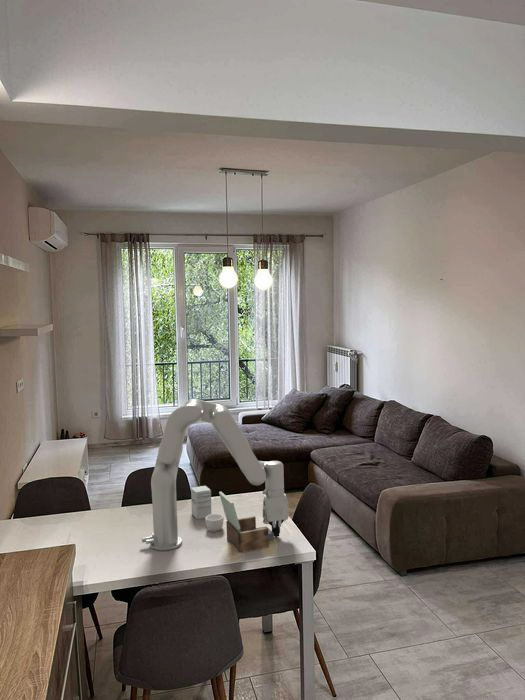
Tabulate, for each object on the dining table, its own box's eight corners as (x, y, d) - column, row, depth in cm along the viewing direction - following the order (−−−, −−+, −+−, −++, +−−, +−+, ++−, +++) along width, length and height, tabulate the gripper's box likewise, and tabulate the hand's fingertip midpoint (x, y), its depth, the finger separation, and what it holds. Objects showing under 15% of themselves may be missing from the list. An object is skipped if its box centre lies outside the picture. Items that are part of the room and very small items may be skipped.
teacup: (221, 533, 230) (221, 520, 230) (203, 532, 231) (203, 520, 231) (226, 524, 240) (225, 512, 240) (208, 523, 241) (208, 511, 241)
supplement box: (191, 514, 253) (190, 487, 252) (206, 511, 256) (205, 485, 255) (196, 519, 246) (195, 492, 245) (212, 516, 249) (211, 489, 248)
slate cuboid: (260, 544, 219) (260, 535, 219) (253, 536, 227) (253, 528, 226) (274, 541, 222) (274, 533, 221) (266, 534, 229) (266, 526, 229)
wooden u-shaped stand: (239, 553, 211) (238, 534, 210) (226, 538, 225) (226, 520, 224) (269, 547, 216) (268, 528, 215) (254, 533, 229) (254, 515, 229)
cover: (241, 531, 211) (239, 532, 211) (228, 519, 224) (226, 520, 224) (233, 502, 209) (230, 503, 209) (221, 491, 222) (218, 492, 222)
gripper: (261, 497, 217) (262, 542, 219) (295, 491, 223) (296, 535, 224) (254, 491, 224) (255, 535, 225) (287, 486, 230) (288, 529, 231)
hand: (275, 535), depth 225 cm, fingers closed
